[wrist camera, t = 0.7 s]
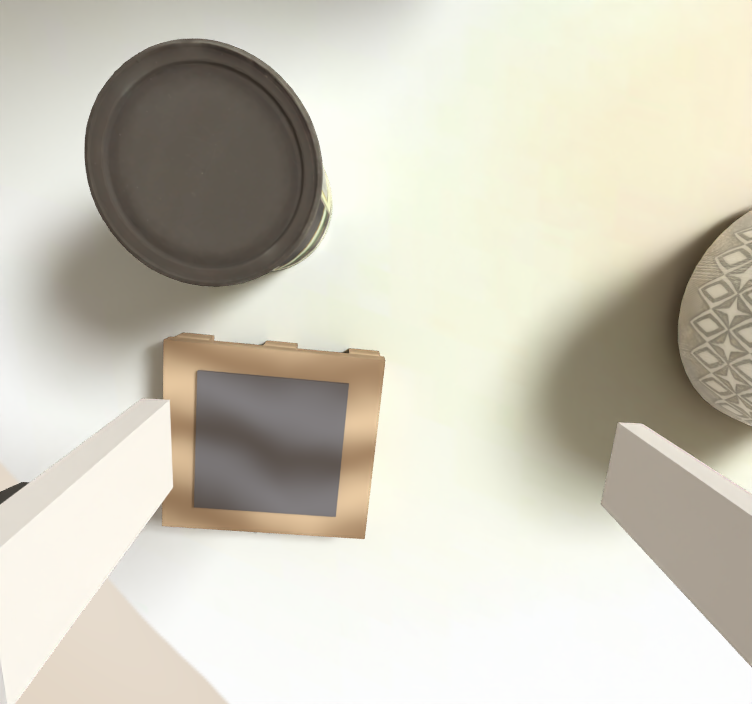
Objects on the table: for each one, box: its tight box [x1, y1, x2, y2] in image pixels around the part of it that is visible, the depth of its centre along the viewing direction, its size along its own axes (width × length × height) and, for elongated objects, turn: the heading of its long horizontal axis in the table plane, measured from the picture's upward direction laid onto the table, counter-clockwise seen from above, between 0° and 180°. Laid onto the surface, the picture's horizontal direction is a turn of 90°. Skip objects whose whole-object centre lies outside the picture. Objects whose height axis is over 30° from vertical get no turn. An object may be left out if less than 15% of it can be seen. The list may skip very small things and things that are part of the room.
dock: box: [162, 333, 385, 539], centre depth 36 cm, size 15×16×3 cm
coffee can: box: [85, 39, 332, 287], centre depth 27 cm, size 10×10×14 cm
